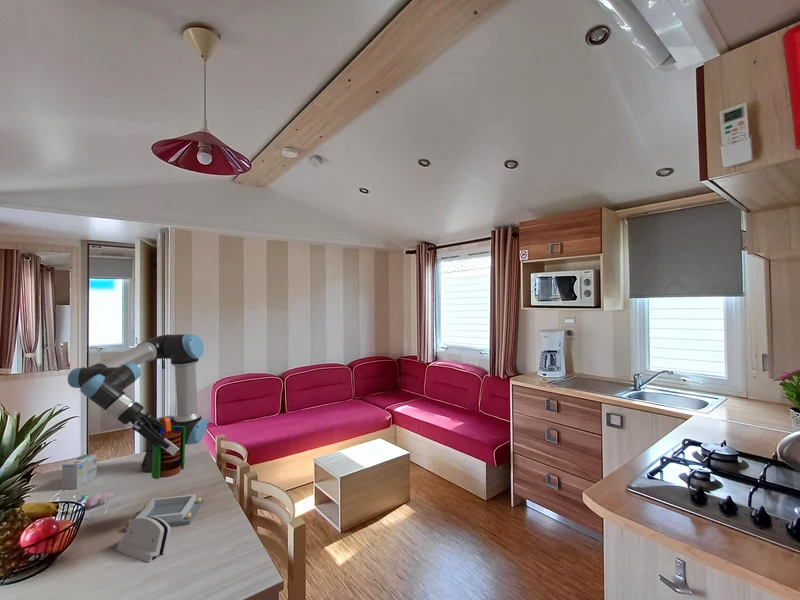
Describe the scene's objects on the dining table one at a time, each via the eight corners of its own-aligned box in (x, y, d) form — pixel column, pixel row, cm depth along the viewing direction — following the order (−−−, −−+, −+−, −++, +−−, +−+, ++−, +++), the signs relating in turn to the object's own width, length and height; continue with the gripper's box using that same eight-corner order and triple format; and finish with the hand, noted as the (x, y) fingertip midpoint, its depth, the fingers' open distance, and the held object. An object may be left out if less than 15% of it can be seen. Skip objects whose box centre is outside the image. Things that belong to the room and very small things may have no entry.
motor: (165, 480, 126) (167, 422, 128) (144, 478, 128) (146, 421, 129) (188, 468, 136) (189, 415, 137) (168, 466, 138) (169, 414, 139)
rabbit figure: (62, 521, 132) (114, 502, 140) (59, 506, 131) (111, 487, 140) (65, 513, 137) (115, 495, 145) (62, 499, 136) (112, 481, 145)
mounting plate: (146, 508, 137) (146, 499, 137) (203, 502, 141) (203, 492, 141) (125, 532, 122) (125, 521, 122) (189, 524, 127) (189, 513, 127)
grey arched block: (115, 549, 113) (127, 513, 117) (130, 546, 117) (141, 511, 121) (150, 563, 107) (161, 524, 110) (164, 559, 111) (175, 522, 115)
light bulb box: (82, 478, 164) (82, 454, 164) (97, 477, 164) (97, 453, 164) (60, 489, 153) (61, 464, 153) (77, 489, 153) (77, 463, 154)
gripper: (125, 411, 136) (175, 448, 142) (106, 425, 118) (163, 467, 123) (142, 395, 138) (190, 432, 144) (126, 407, 120) (181, 449, 126)
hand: (178, 448), depth 134 cm, fingers closed on motor, 7 cm apart
